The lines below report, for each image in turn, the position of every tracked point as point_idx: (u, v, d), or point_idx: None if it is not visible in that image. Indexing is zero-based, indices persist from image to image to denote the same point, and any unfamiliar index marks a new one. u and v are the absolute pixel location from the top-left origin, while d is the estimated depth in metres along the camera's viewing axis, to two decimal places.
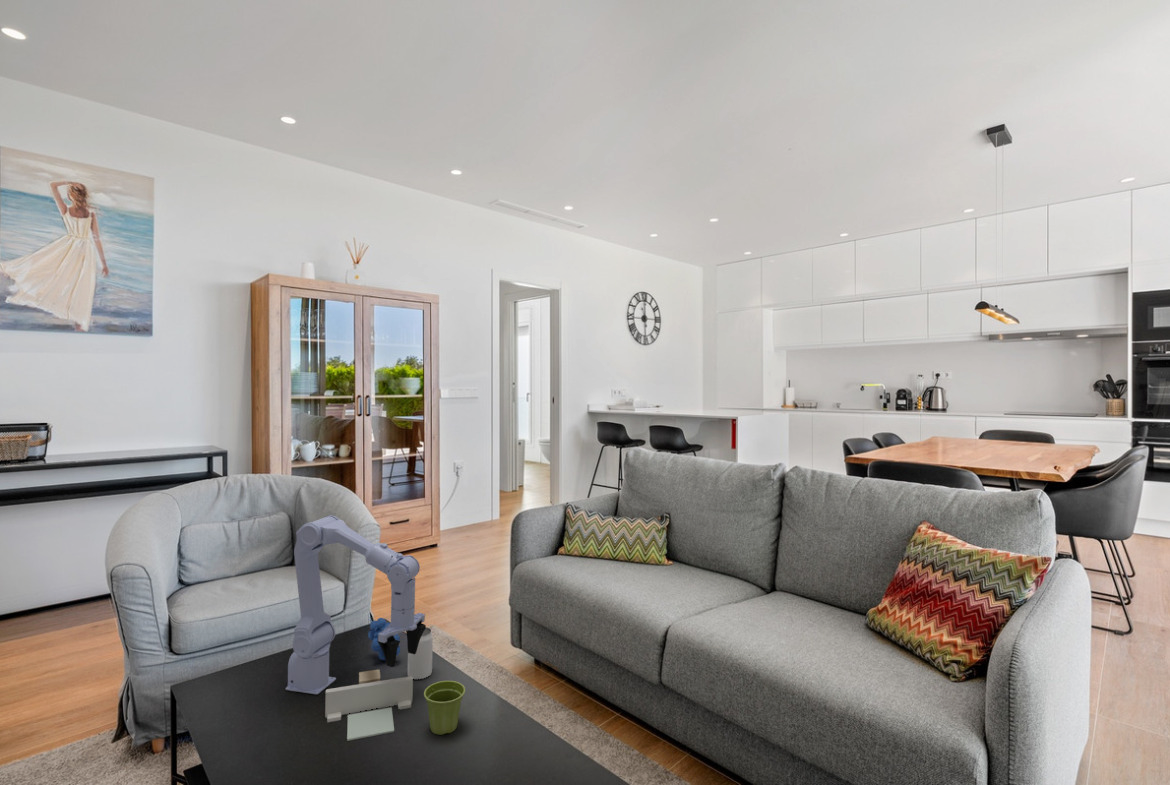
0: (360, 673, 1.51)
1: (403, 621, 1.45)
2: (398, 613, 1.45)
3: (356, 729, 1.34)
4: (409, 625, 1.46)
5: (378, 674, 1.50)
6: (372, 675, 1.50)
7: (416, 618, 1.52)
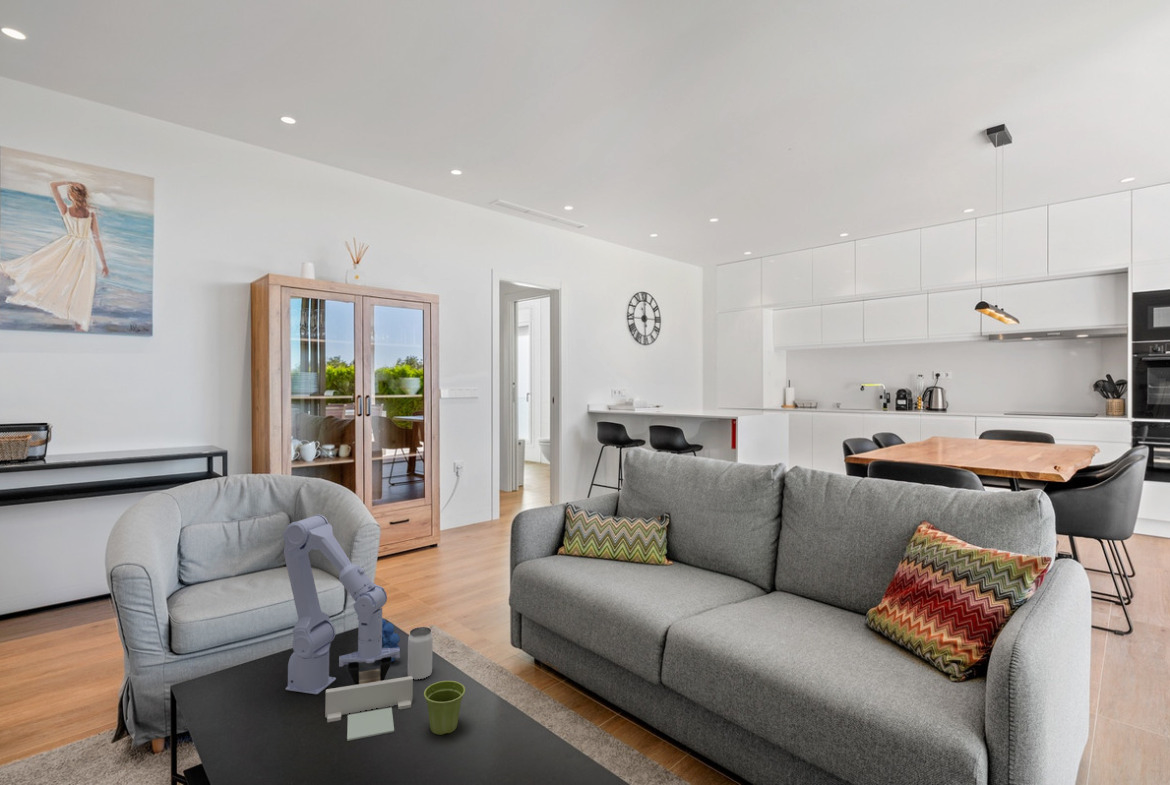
0: (360, 672, 1.51)
1: (361, 651, 1.47)
2: (359, 642, 1.48)
3: (356, 729, 1.34)
4: (367, 657, 1.47)
5: (378, 674, 1.50)
6: (372, 675, 1.50)
7: (388, 652, 1.51)
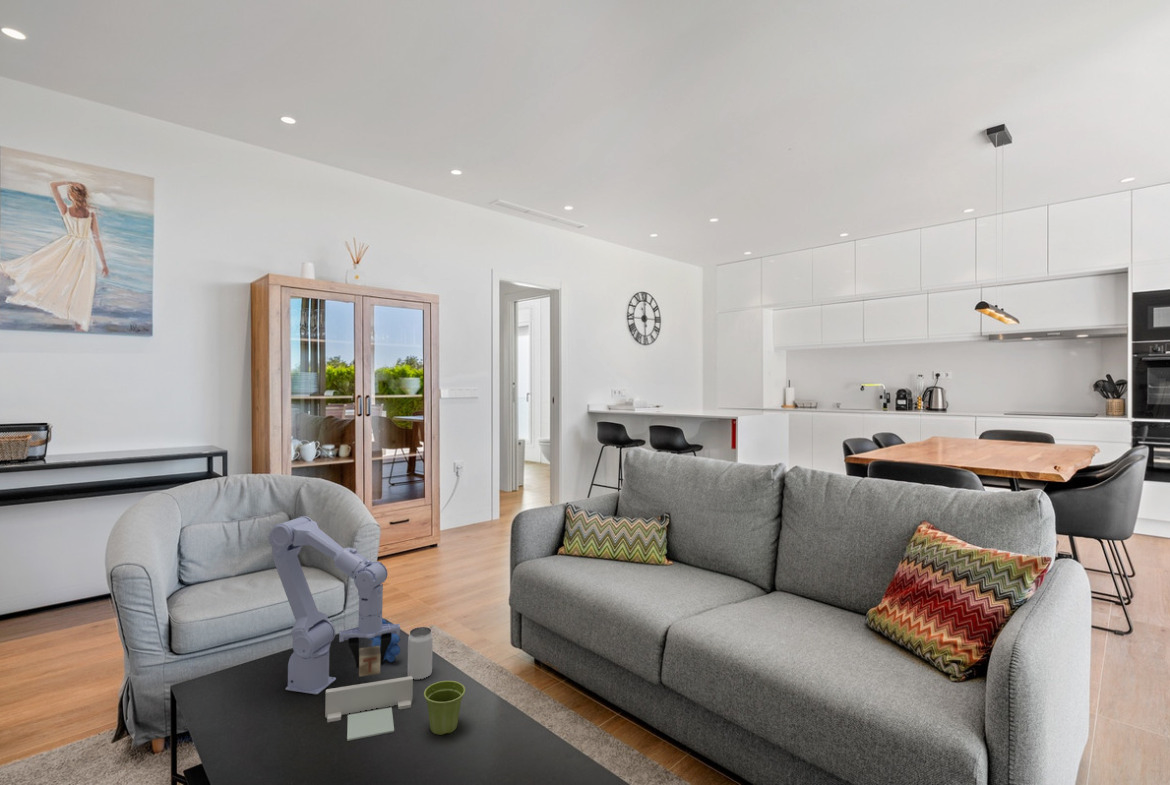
0: (360, 649, 1.51)
1: (362, 626, 1.47)
2: (359, 617, 1.48)
3: (356, 729, 1.34)
4: (368, 632, 1.47)
5: (378, 650, 1.50)
6: (373, 651, 1.50)
7: (388, 628, 1.51)
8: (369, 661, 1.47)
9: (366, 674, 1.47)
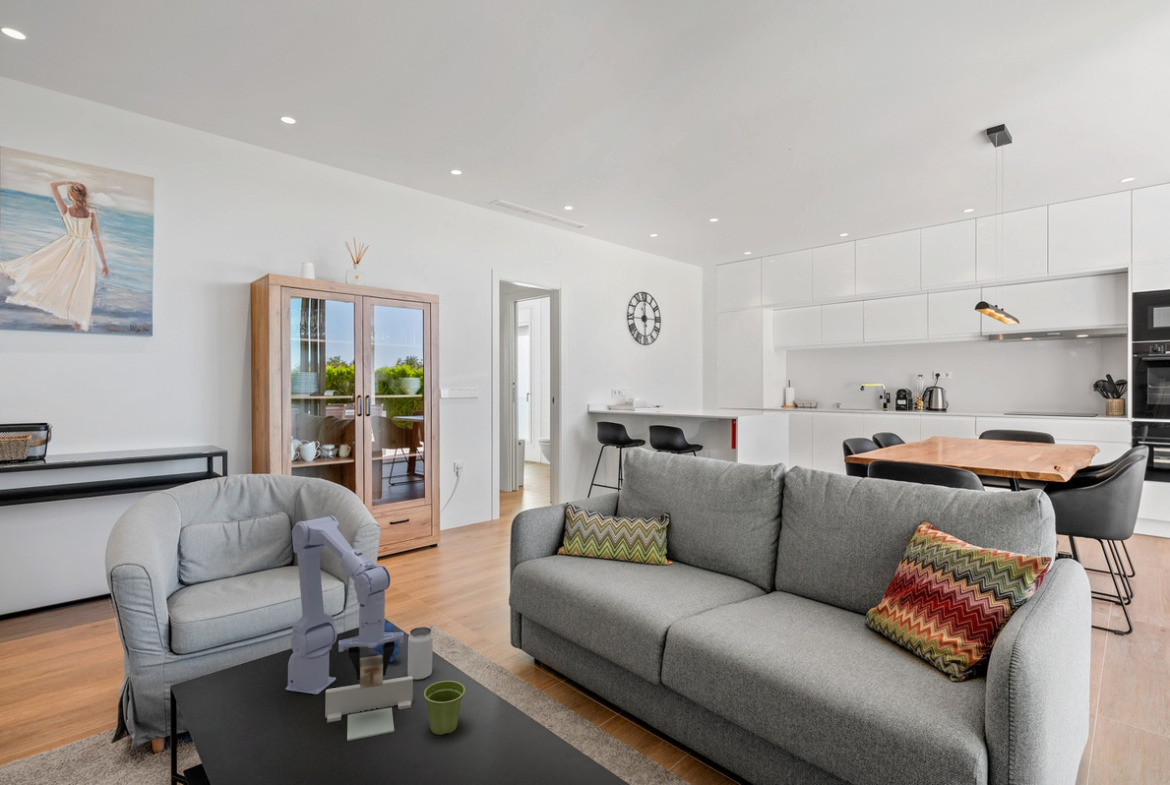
0: (361, 659, 1.41)
1: (363, 634, 1.37)
2: (360, 625, 1.37)
3: (356, 729, 1.34)
4: (369, 641, 1.37)
5: (380, 660, 1.40)
6: (374, 661, 1.40)
7: (391, 636, 1.41)
8: (371, 672, 1.37)
9: (368, 686, 1.37)
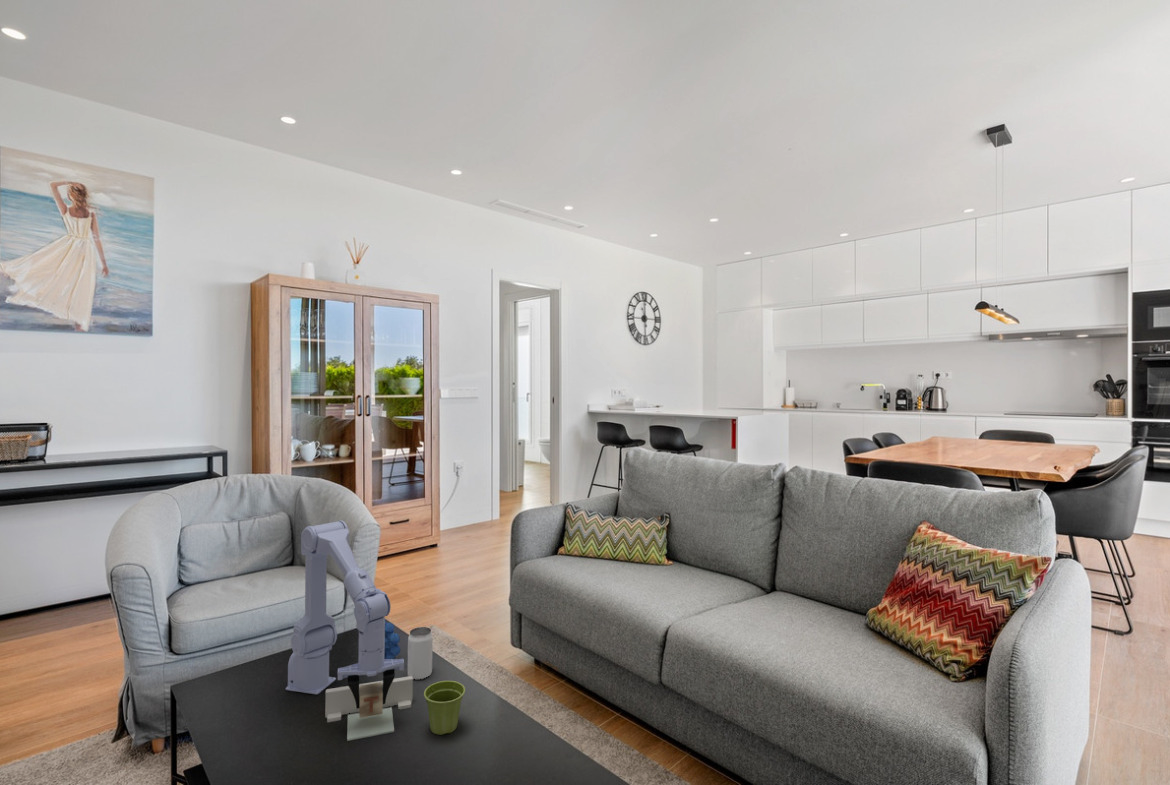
0: (361, 686, 1.38)
1: (362, 663, 1.34)
2: (359, 653, 1.35)
3: (356, 729, 1.34)
4: (368, 670, 1.34)
5: (380, 688, 1.38)
6: (374, 689, 1.37)
7: (391, 664, 1.38)
8: (370, 701, 1.35)
9: (367, 715, 1.35)
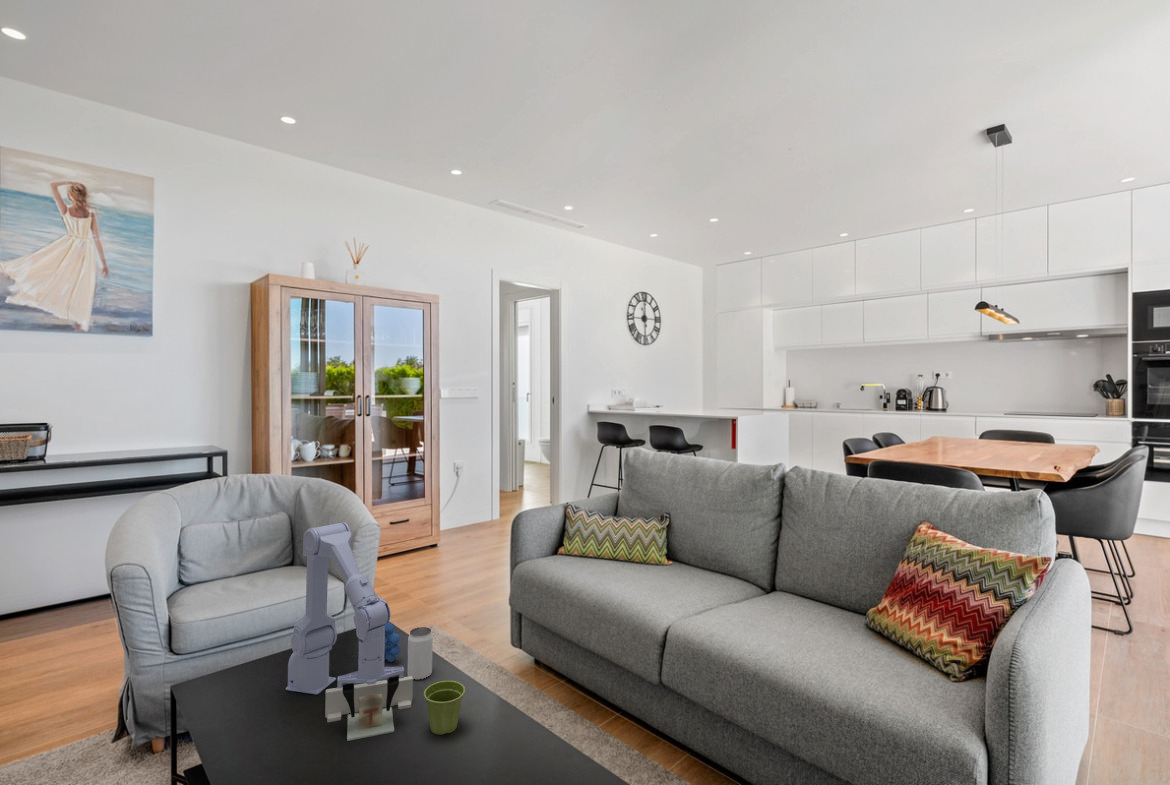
0: (361, 698, 1.38)
1: (362, 671, 1.34)
2: (359, 661, 1.35)
3: (356, 729, 1.34)
4: (368, 678, 1.34)
5: (380, 699, 1.38)
6: (374, 700, 1.37)
7: (391, 672, 1.38)
8: (370, 712, 1.35)
9: (367, 727, 1.35)
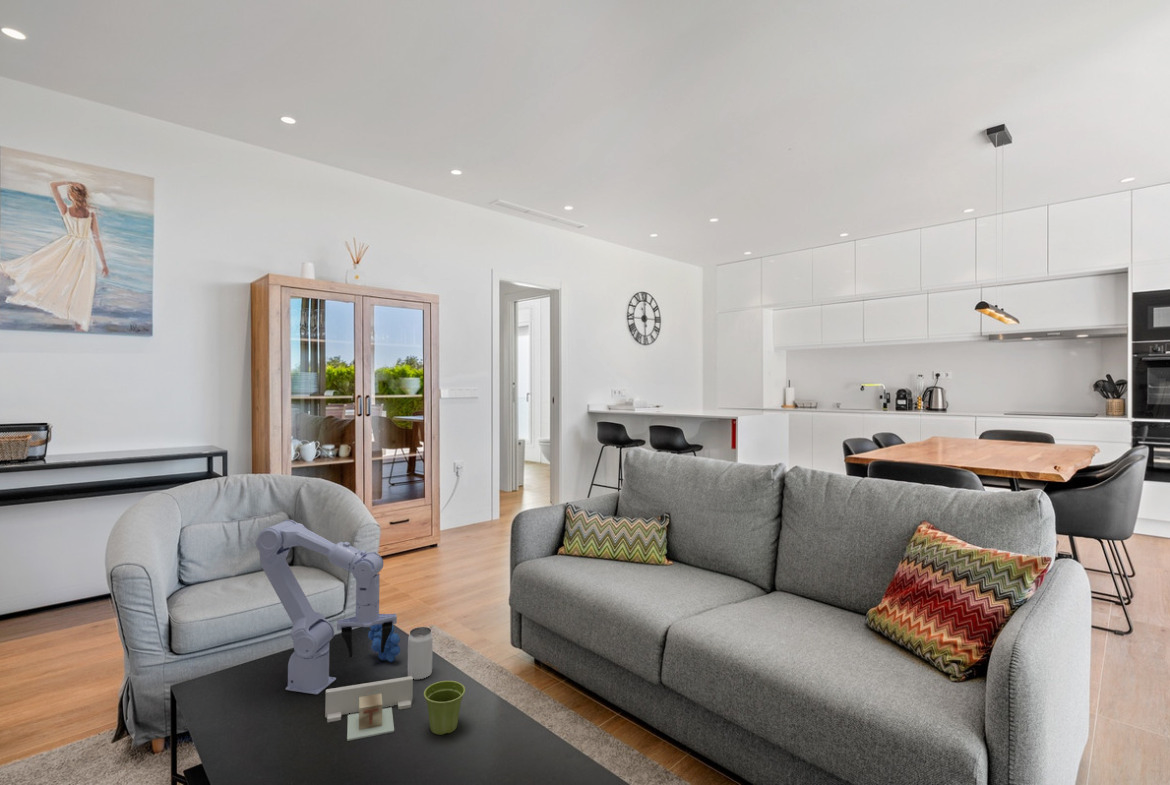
0: (361, 698, 1.38)
1: (359, 615, 1.49)
2: (356, 606, 1.50)
3: (356, 729, 1.34)
4: (364, 621, 1.49)
5: (380, 699, 1.38)
6: (374, 700, 1.37)
7: (385, 617, 1.53)
8: (370, 712, 1.35)
9: (367, 727, 1.35)
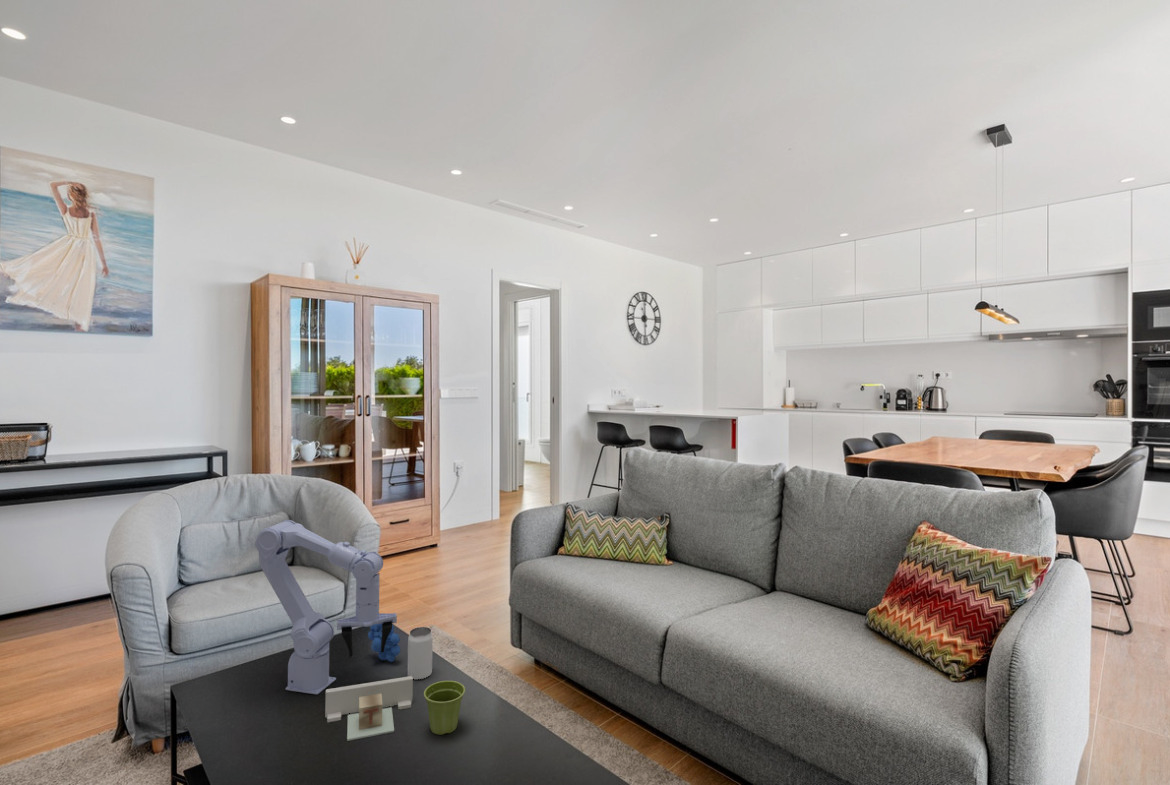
0: (361, 698, 1.38)
1: (359, 615, 1.50)
2: (356, 606, 1.50)
3: (356, 729, 1.34)
4: (365, 621, 1.49)
5: (380, 699, 1.38)
6: (374, 700, 1.37)
7: (385, 617, 1.53)
8: (370, 712, 1.35)
9: (367, 727, 1.35)
